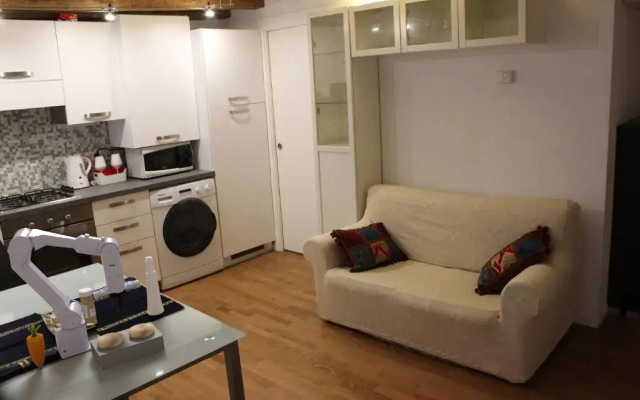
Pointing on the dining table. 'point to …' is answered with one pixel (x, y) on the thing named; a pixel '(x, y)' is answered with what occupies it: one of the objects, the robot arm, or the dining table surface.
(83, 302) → the sprinkles bottle
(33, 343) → the carrot
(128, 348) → the peg block
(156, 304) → the cosmetic bottle
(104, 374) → the dining table surface
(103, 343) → the left peg
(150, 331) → the right peg
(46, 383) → the dining table surface
